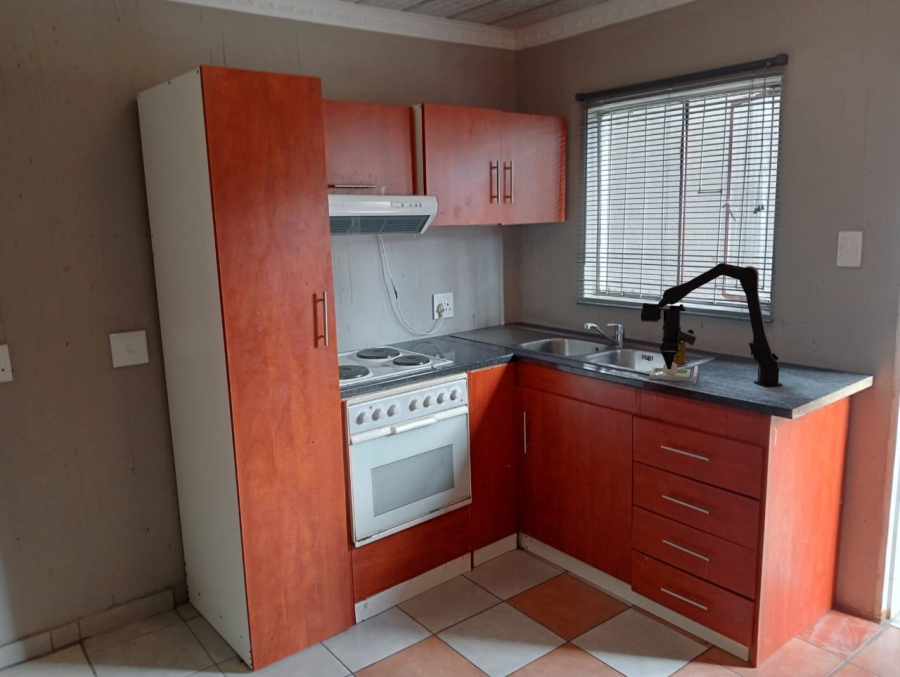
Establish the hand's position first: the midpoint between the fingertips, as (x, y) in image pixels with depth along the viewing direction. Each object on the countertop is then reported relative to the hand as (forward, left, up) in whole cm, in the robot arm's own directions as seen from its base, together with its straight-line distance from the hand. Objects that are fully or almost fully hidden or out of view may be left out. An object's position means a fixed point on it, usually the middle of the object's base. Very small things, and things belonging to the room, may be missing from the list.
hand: (670, 366), depth 243 cm
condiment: (+20, -14, -4) cm, 25 cm away
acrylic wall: (-5, -7, -4) cm, 9 cm away
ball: (0, 0, -1) cm, 1 cm away
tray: (0, 0, -4) cm, 4 cm away
